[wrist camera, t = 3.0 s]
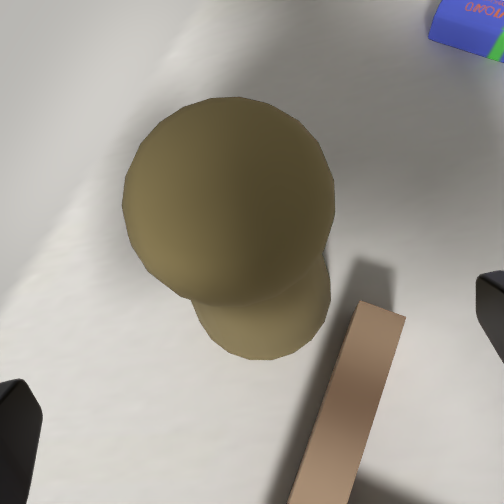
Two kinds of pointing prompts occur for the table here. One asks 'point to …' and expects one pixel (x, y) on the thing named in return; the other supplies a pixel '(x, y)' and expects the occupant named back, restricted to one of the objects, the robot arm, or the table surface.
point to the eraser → (471, 26)
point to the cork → (236, 222)
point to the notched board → (348, 407)
